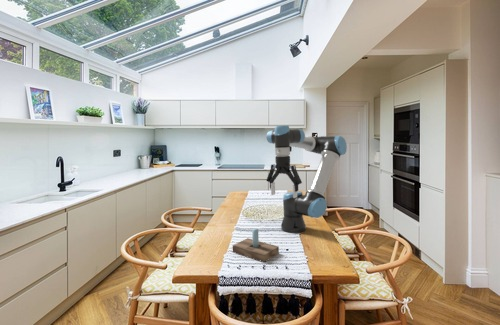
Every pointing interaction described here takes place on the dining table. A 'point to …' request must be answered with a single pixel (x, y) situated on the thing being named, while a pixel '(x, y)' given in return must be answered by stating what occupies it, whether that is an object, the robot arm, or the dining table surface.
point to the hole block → (256, 250)
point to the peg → (255, 238)
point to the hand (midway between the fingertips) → (283, 196)
